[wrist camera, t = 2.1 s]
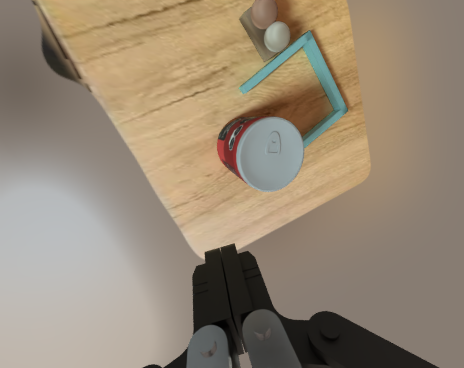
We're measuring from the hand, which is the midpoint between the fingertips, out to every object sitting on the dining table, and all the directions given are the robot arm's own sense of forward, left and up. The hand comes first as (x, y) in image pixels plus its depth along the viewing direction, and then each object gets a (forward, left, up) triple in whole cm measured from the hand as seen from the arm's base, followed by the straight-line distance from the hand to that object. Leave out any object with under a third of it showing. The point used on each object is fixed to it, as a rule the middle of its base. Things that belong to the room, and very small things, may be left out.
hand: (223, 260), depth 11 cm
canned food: (+3, +8, -23) cm, 25 cm away
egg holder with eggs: (-7, +19, -23) cm, 31 cm away
